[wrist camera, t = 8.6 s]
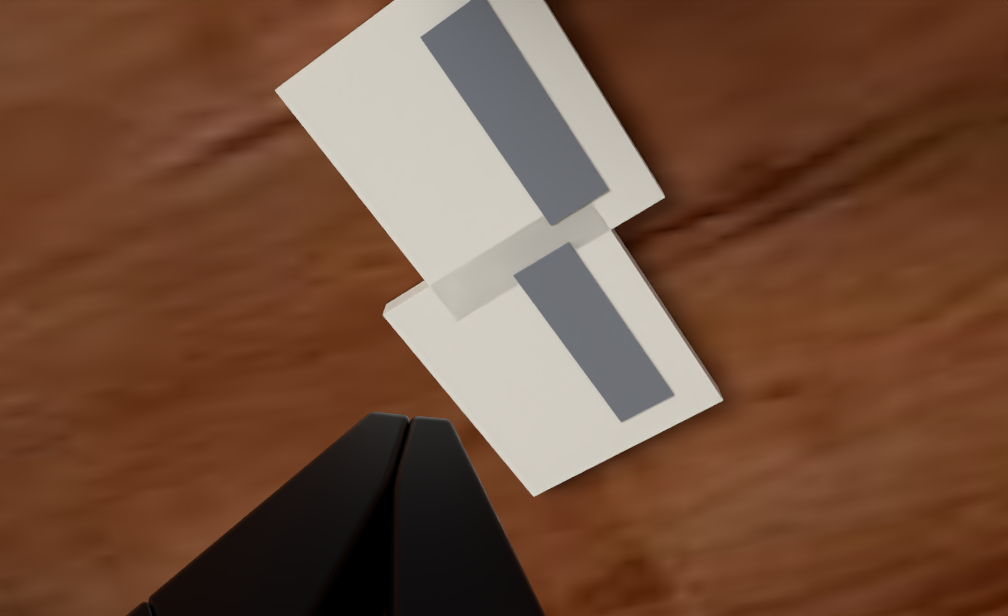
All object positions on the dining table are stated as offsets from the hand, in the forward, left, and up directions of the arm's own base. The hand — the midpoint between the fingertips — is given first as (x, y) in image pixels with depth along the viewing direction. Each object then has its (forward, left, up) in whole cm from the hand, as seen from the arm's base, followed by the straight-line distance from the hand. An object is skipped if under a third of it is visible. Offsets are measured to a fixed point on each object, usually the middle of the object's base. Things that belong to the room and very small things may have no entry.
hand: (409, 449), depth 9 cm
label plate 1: (0, 0, -12) cm, 12 cm away
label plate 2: (-5, -3, -12) cm, 13 cm away
